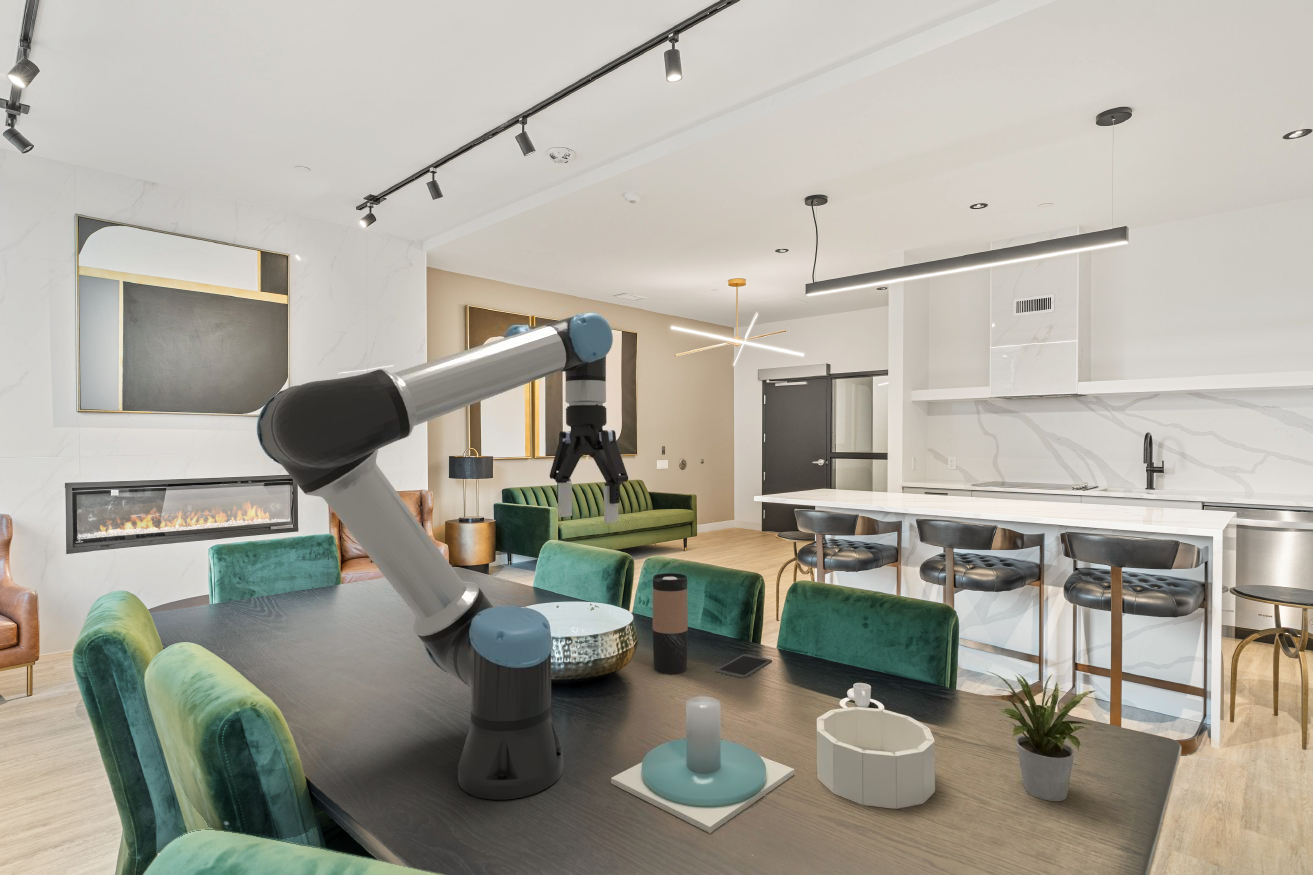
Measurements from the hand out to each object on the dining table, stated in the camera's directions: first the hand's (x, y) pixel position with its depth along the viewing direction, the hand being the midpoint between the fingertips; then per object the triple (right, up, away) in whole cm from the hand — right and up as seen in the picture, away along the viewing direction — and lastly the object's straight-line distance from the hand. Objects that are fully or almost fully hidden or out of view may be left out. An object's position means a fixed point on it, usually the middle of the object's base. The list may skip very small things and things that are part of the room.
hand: (587, 519), depth 123 cm
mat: (+20, -34, -27) cm, 48 cm away
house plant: (+66, -34, -30) cm, 80 cm away
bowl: (+44, -34, -27) cm, 62 cm away
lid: (+20, -34, -27) cm, 47 cm away
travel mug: (+16, -35, +20) cm, 44 cm away
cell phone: (+32, -36, +22) cm, 53 cm away
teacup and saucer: (+54, -35, +1) cm, 64 cm away
